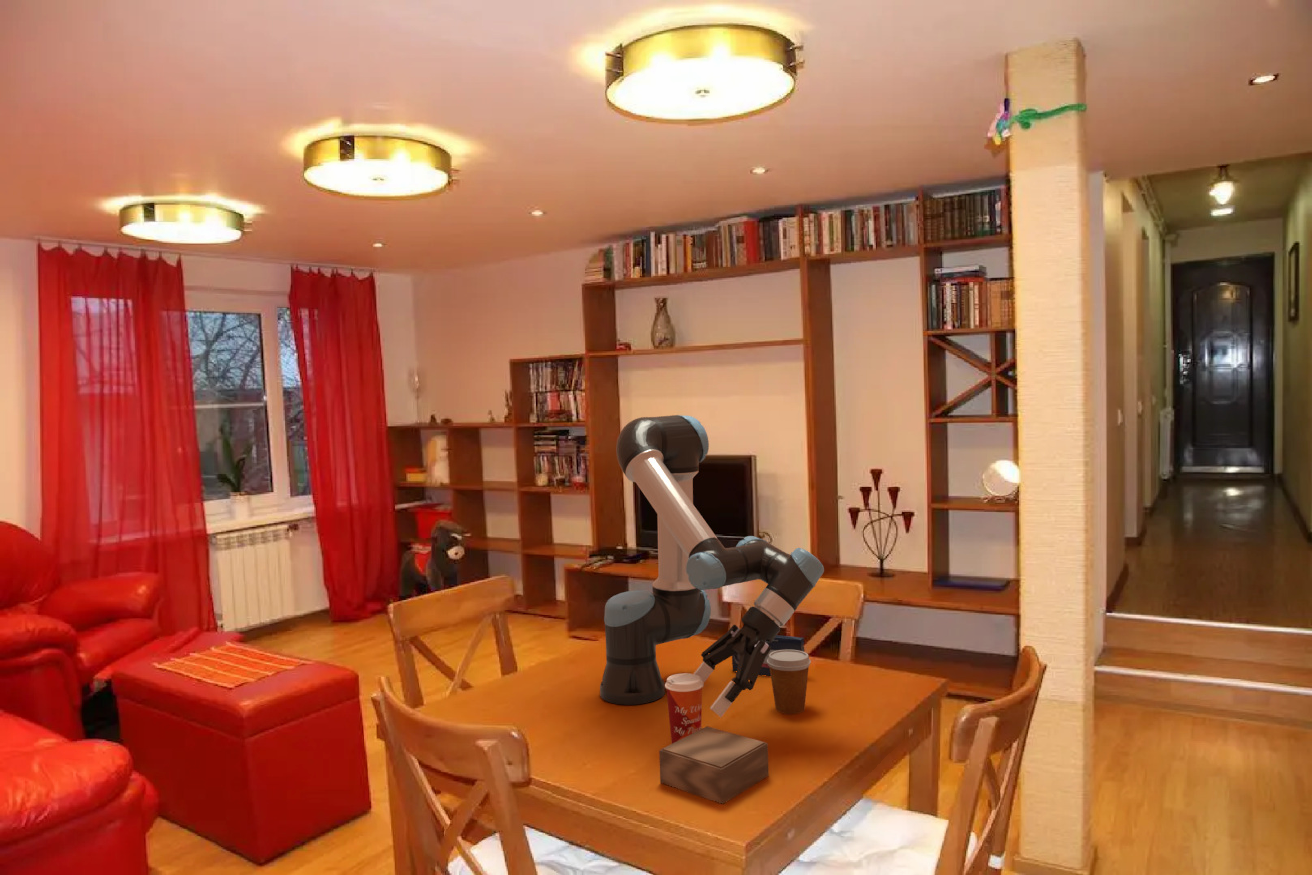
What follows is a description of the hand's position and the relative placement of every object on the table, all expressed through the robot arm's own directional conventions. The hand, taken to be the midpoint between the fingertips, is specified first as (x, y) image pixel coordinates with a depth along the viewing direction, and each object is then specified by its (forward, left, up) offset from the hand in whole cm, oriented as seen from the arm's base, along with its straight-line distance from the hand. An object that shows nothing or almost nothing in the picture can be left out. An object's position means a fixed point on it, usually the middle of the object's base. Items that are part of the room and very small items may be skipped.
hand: (701, 701), depth 175 cm
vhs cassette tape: (-15, +45, -10) cm, 48 cm away
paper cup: (-3, -2, -10) cm, 10 cm away
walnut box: (+10, -10, -9) cm, 17 cm away
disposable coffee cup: (+2, +28, -10) cm, 30 cm away
